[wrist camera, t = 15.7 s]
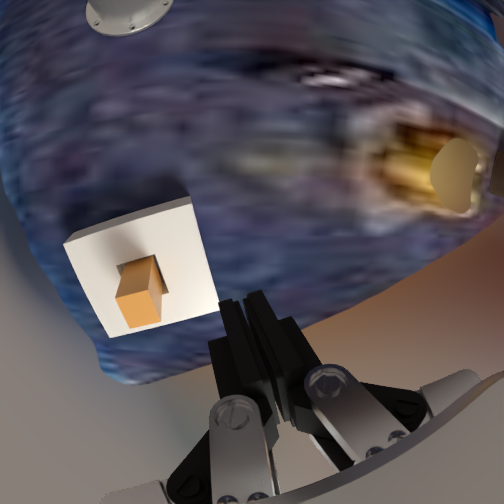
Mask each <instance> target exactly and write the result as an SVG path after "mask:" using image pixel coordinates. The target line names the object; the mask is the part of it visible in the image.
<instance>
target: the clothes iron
mask: <svg viewBox="0 0 504 504" xmlns="http://www.w3.org/2000/svg"><path fill="white" fill-rule="evenodd" d="M490 192H491V194H494V195H497V196H500V197H503V198H504V152H502V151H498V153H497V156H496V159H495V163H494V167H493V171H492V177H491V185H490Z"/></svg>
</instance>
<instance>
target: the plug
mask: <svg viewBox="0 0 504 504" xmlns="http://www.w3.org/2000/svg"><path fill="white" fill-rule="evenodd" d="M162 285H163V283H162V280H161V278H160V275H159V272H158V269H157V266H156V263H155V260H154V257H153V256H148V257H146V258H143V259H139V260H133V261H132V262H128V263H126V264H125V267H124V270H123V273H122V277H121V280H120V283H119V286H118V289H117V293H116V296H115V300H116V302H117V304H118V306H119V308H120V310H121V312H122V314H123V316H124V318H125V320H126V322H127V324H128V326H129V328H130V329H132V328H136V327H141V326H145V325H149V324H154V323H158V322H161V309H162Z"/></svg>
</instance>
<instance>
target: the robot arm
mask: <svg viewBox="0 0 504 504" xmlns="http://www.w3.org/2000/svg"><path fill="white" fill-rule="evenodd" d="M173 2H174V0H88V3H87V6H86V19H87V21H88V23H89V25H90V26H91V27H92V28H93V29H94V30H95V31H97V32H98V33H101V34H103V35H107V36H127V35H131V34H134V33H137V32H140V31H143V30H145V29H147V28H149V27H150V26H152V25H154V24H155V23H156V22H158V21H159V20H160V19H161V18H162V17H163V16H164V15H166V13H167V12H168V11H169V9H170V8H171V6H172V4H173ZM98 24H99V25H98ZM132 28H134V29H133V30H131V29H132ZM243 304H244V308H245V312H246V316H247V320H248V324H249V326H248V324H247V321H246V319H245V316H244V314H243V311H242V309H241V306H240V303H239V301H235V302H233V301H232V298H231V299H228V300H224V301H220V302H218V306H219V309H220V313H221V316H222V320H223V323H224V327H225V330H226V334H227V336H225V337H222V338H218V339H214V340H211V341H208V346H209V351H210V356H211V361H212V365H213V370H214V374H215V379H216V383H217V388H218V392H219V396H220V400H219V401H218V402H217V403H216V404H215V405H214V406H213V407H212V409H211V411H210V416H209V430H208V431H207V432H206V433H205V435H204V436H203V437H202V438H201V440H200V441H199V442H198V443H197V445H196V446H195V447H194V448H193V449H192V451H191V452H190V453H189V454H188V455H187V457H186V458H185V459H184V460H183V461H182V463H181V464H180V465H179V466H178V467H177V468H176V470H175V471H174V472H173V473H172V474H171V476H170V477H169V478H168V479H166V480H162V481H159V480H155V481H152V482H149V483H145V484H141V485H138V486H134V487H131V488H127V489H122V490H118V491H113V492H110V493H108V494H106V495H105V496H104V497H103V498H102V499H101V503H100V504H504V371H501V372H498V373H495V374H493V375H491V376H489V377H487V378H486V379H484V380H481V378H480V377H479V375H478V374H477V373H476V372H474V371H472V370H470V369H463V370H459V371H457V372H455V373H453V374H451V375H448V376H447V377H444V378H442V379H440V380H437V381H434V382H432V383H429V384H427V385H424V386H422V387H420V389H419V390H417V391H411V390H406V389H398V388H392V387H386V386H379V385H374V384H368V383H363V382H359V381H358V380H357V379H356V378H355V377H354V376H353V375H352V374H351V373H350V372H349V371H348V370H346V369H345V368H344V367H342V366H339V365H336V364H324V365H322V363H321V362H320V360H319V358H318V357H317V355H316V354H315V352H314V351H313V349H312V347H311V346H310V344H309V343H308V341H307V339H306V338H305V336H304V335H303V333H302V332H301V330H300V328H299V327H298V325H297V324H296V322H295V320H294V319H293V318H292V317H291V316H290V317H287V318H284V319H281V320H278V319H277V317H276V316H275V314H274V312H273V310H272V308H271V307H270V305H269V303H268V301H267V299H266V297H265V296H264V294H263V292H262V290H258V291H255V292H252V293H248V294H247V298H245V299H243ZM249 328H250V329H249ZM275 401H276V403H277V406H278V408H279V410H280V413H281V415H282V417H283V420H284V422H286V421H289V420H290V422H291V424H292V426H293V427H295V426H296V428H297V430H298V431H301V432H305V433H307V434H308V435H309V437H310V439H311V440H312V441H313V443H314V444H315V446H316V447H317V448H318V450H319V451H320V452H321V454H322V455H323V456H324V458H325V459H326V460H327V462H328V463H329V464H330V466H331V467H332V468H333V470H334V471H335V472H336V474H334V475H332V476H330V477H327V478H325V479H322V480H320V481H317V482H315V483H312V484H309V485H307V486H304V487H301V488H298V489H295V490H292V491H289V492H286V493H283V494H281V490H280V485H279V480H278V474H277V469H276V463H275V459H274V453H273V446H274V444H275V443H276V441H277V440H278V438H279V434H278V430H277V426H276V425H277V424H280V421H279V417H278V412H277V408H276V404H275Z"/></svg>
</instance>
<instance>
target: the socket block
mask: <svg viewBox="0 0 504 504" xmlns="http://www.w3.org/2000/svg"><path fill="white" fill-rule="evenodd" d="M63 245H64V247H65V250H66V252H67V254H68V257H69V259H70V261H71V264H72V266H73V268H74V270H75V272H76V275H77V277H78V279H79V281H80V283H81V285H82V287H83V289H84V291H85V293H86V295H87V297H88V299H89V301H90V303H91V305H92V307H93V309H94V311H95V312H96V314H97V316H98V318H99V320H100V321H101V323H102V325H103V327H104V328H105V330H106V332H107V334H108V335H109V337H110V338H112V337H116V336H121V335H125V334H129V333H133V332H138V331H142V330H146V329H150V328H154V327H158V326H162V325H166V324H170V323H174V322H177V321H181V320H185V319H189V318H193V317H196V316H200V315H204V314H207V313H211V312H214V311H218V310H220V309H219V306H218V302H219V300H218V296H217V293H216V289H215V286H214V282H213V279H212V276H211V272H210V269H209V265H208V261H207V258H206V254H205V251H204V247H203V243H202V240H201V236H200V232H199V229H198V225H197V221H196V217H195V213H194V209H193V205H192V202H191V198H190V196H187V197H183V198H180V199H176V200H173V201H169V202H166V203H162V204H159V205H155V206H152V207H149V208H145V209H142V210H139V211H136V212H132V213H129V214H126V215H123V216H120V217H117V218H114V219H111V220H108V221H105V222H102V223H99V224H96V225H93V226H90V227H88V228H85V229H82V230H79V231H76V232H74V233H73V234H72V235H71V236H70V237H69V238H68V239H67V241H66V242H65V243H64V244H63ZM148 256H153V257H154V260H155V263H156V266H157V269H158V272H159V275H160V278H161V280H162V283H163V285H162V309H161V322H158V323H154V324H149V325H145V326H141V327H136V328H132V329H130V328H129V326H128V324H127V322H126V320H125V318H124V316H123V314H122V312H121V310H120V308H119V306H118V304H117V302H116V300H115V296H116V293H117V289H118V286H119V283H120V280H121V277H122V273H123V270H124V267H125V264H126V263H128V262H132V261H133V260H139V259H143V258H146V257H148Z"/></svg>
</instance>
